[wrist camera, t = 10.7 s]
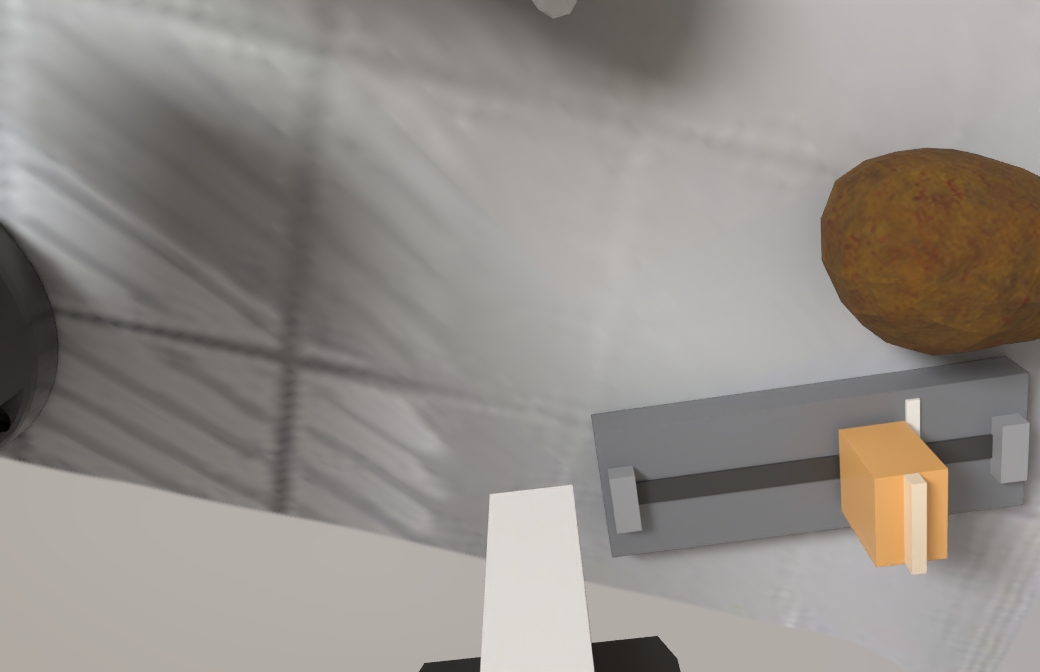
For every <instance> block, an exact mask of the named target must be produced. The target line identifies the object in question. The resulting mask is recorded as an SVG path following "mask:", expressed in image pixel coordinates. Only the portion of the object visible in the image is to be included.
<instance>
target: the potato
mask: <svg viewBox="0 0 1040 672" xmlns="http://www.w3.org/2000/svg"><path fill="white" fill-rule="evenodd" d="M821 251H822V261H823V264H824V266H825V268H826V270H827V273H828V275H829V277H830V279H831V281H832V283H833V285H834V287H835V290H836V292H837V294H838V296H839V298H840V300H841V302H842V303H843V304H844V305H845V306H846V308H847V309H848V310H849V311H850V312H851V313H852V314H853V315H854V316H855V317H856V318H857V319H858V321H859V322H860V323H861V324H862V325H863V326H864V327H866V328H867V329H869V330H870V331H871V332H873V333H874V334H876V335H877V336H878V337H880V338H881V339H882V340H884V341H885V342H887V343H890V344H893V345H897V346H900V347H903V348H906V349H910V350H914V351H918V352H922V353H926V354H930V355H941V354H952V353H963V352H970V351H975V350H981V349H986V348H992V347H996V346H1000V345H1004V344H1011V343H1018V342H1025V341H1032V340H1036V339H1040V177H1039V176H1037V175H1035V174H1033V173H1031V172H1029V171H1027V170H1025V169H1023V168H1020V167H1017V166H1013V165H1010V164H1007V163H1004V162H1000V161H997V160H994V159H991V158H987V157H984V156H981V155H978V154H973V153H968V152H964V151H959V150H954V149H938V148H921V149H913V150H905V151H898V152H893V153H890V154H886V155H883V156H879V157H876V158H872V159H869V160H865V161H864V162H862V163H861V164H859V165H858V166H856V167H855V168H853V169H852V170H851V171H849V172H848V173H846V174H845V175H843V176H842V177H840V178H839V179H838V180H836V181H835V183H834V186H833V189H832V191H831V194H830V197H829V199H828V202H827V204H826V207H825V210H824V212H823V215H822V218H821Z"/></svg>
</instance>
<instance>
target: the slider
mask: <svg viewBox="0 0 1040 672" xmlns="http://www.w3.org/2000/svg"><path fill="white" fill-rule="evenodd" d="M839 455H840V481H841V508H842V512H843V514H844V516H845V517H846V519H847V521H848V522H849V524H850V525H851V527H852V529H853V530H854V532H855V533H856V535H857V537H858V538H859V540H860V542H861V543H862V545H863V546H864V548H865V550H866V551H867V553H868V554H869V556H870V558H871V559H872V561H873V563H874V564H875V566H876V567H881V566H889V565H897V564H905V565H906V566H907V568H908V569H909V571H910V572H911V574H912V575H915V574H923V573H927V561H929V560H937V559H945V558H947V530H948V468H947V467H946V466H945V465H944V464H943V463H942V462H941V460H940V459H939V458H938V457H937V456H936V455H935V454H934V453H933V452H932V451H931V449H930V448H929V447H928V446H927V445H926V444H925V443H924V442H923V441H922V440H921V438H920V437H919V436H918V435H917V434H916V433H915V432H914V431H913V430H912V429H911V427H910V426H909V425H908V424H907V423H906V422H905V421H899V422H891V423H884V424H877V425H869V426H862V427H855V428H847V429H840V430H839Z"/></svg>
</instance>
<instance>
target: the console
mask: <svg viewBox="0 0 1040 672" xmlns="http://www.w3.org/2000/svg"><path fill="white" fill-rule="evenodd" d="M1028 382H1029V373H1028V372H1027V371H1026V370H1024V369H1023V368H1022V367H1020V366H1019V365H1017V364H1016V363H1015V362H1013V361H1012V360H1011V359H1009V358H1008V357H1000V358H993V359H985V360H978V361H971V362H964V363H957V364H950V365H943V366H936V367H928V368H921V369H914V370H907V371H900V372H893V373H886V374H878V375H871V376H864V377H857V378H850V379H843V380H836V381H829V382H821V383H814V384H807V385H800V386H793V387H786V388H779V389H771V390H764V391H757V392H750V393H743V394H736V395H729V396H722V397H714V398H707V399H700V400H693V401H686V402H679V403H672V404H664V405H657V406H650V407H643V408H636V409H629V410H622V411H615V412H607V413H600V414H593V415H591V417H592V424H593V431H594V437H595V444H596V451H597V458H598V464H599V471H600V478H601V485H602V492H603V498H604V505H605V512H606V519H607V526H608V532H609V539H610V546H611V553H612V557H620V556H627V555H635V554H643V553H651V552H658V551H666V550H674V549H682V548H689V547H697V546H705V545H713V544H720V543H728V542H736V541H744V540H752V539H759V538H767V537H775V536H783V535H790V534H798V533H806V532H814V531H821V530H829V529H837V528H845V527H851V525H850V524H849V522H848V521H847V519H846V517H845V516H844V514H843V512H842V508H841V481H840V455H839V430H840V429H847V428H855V427H862V426H869V425H877V424H884V423H891V422H899V421H905V422H906V423H907V424H908V425H909V426H910V427H911V429H912V430H913V431H914V432H915V433H916V434H917V435H918V436H919V437H920V438H921V440H922V441H923V442H924V443H925V444H926V445H927V446H928V447H929V448H930V449H931V451H932V452H933V453H934V454H935V455H936V456H937V457H938V458H939V459H940V460H941V462H942V463H943V464H944V465H945V466H946V467H947V468H948V514H953V513H961V512H969V511H977V510H985V509H992V508H1000V507H1008V506H1016V505H1023V493H1024V481H1025V480H1027V473H1028V452H1029V430H1030V423H1029V422H1028V421H1027V404H1028Z"/></svg>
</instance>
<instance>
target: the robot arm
mask: <svg viewBox="0 0 1040 672" xmlns="http://www.w3.org/2000/svg"><path fill="white" fill-rule="evenodd" d="M57 358H58V342H57V332H56V326H55V321H54V317H53V313H52V309H51V306H50V303H49V300H48V297H47V295H46V292H45V290H44V287H43V285H42V283H41V281H40V279H39V277H38V275H37V274H36V272H35V270H34V269H33V267H32V265H31V264H30V262H29V261H28V259H27V258H26V256H25V255H24V253H23V252H22V251H21V249H20V248H19V247H18V245H17V244H16V243H15V242H14V241H13V239H12V238H11V237H10V236H9V235H8V234H7V233H6V232H5V231H4V230H3V229H2V228H1V227H0V451H1V450H2V449H3V448H4V447H5V446H7V445H8V444H9V443H10V442H12V441H13V440H14V439H15V438H16V437H18V436H19V435H20V434H21V433H22V432H23V431H25V430H26V429H27V428H28V427H29V426H30V424H31V423H32V422H33V421H34V420H35V418H36V417H37V416H38V414H39V413H40V411H41V410H42V408H43V406H44V405H45V403H46V401H47V399H48V396H49V394H50V391H51V389H52V386H53V382H54V378H55V374H56V368H57ZM483 612H484V613H483V629H482V649H481V657H478V658H470V659H469V658H468V659H459V660H450V661H440V662H431V663H424V665H423V667H422V668H421V669H420V671H419V672H680V668H679V664H678V660H677V658H676V657H675V656H674V655H673V653H672V652H671V651H670V650H669V649H668V648H667V646H666V645H665V644H664V643H663V642H662V641H661V640H660V638H659V637H658V636H653V637H645V638H634V639H625V640H615V641H606V642H597V643H592V641H591V632H590V625H589V615H588V607H587V599H586V591H585V583H584V574H583V566H582V558H581V550H580V542H579V534H578V526H577V518H576V510H575V502H574V494H573V486H572V485H566V486H557V487H548V488H539V489H531V490H522V491H513V492H505V493H496V494H490V501H489V519H488V537H487V556H486V575H485V592H484V611H483Z"/></svg>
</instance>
